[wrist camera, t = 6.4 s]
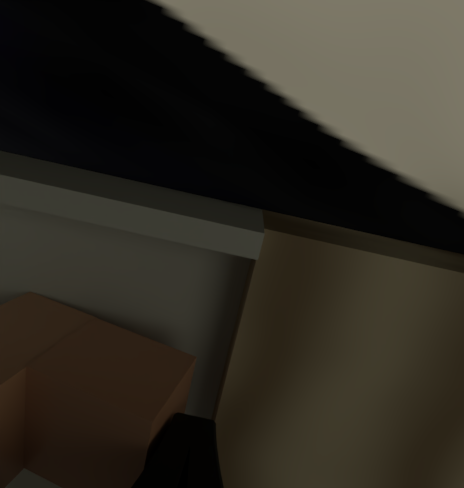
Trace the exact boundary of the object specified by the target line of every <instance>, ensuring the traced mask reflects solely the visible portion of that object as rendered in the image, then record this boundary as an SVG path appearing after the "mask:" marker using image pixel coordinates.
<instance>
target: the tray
mask: <svg viewBox="0 0 464 488" xmlns="http://www.w3.org/2000/svg"><path fill="white" fill-rule="evenodd" d="M264 235H265V231H264V222H263V213H262V209H258V208H253V207H249V206H244V205H240V204H236V203H231V202H227V201H222V200H218V199H213V198H209V197H204V196H200V195H195V194H191V193H187V192H182V191H178V190H173V189H169V188H164V187H160V186H155V185H151V184H146V183H142V182H138V181H133V180H129V179H124V178H120V177H115V176H111V175H106V174H102V173H97V172H93V171H88V170H84V169H80V168H75V167H71V166H66V165H62V164H57V163H53V162H48V161H44V160H39V159H35V158H31V157H26V156H22V155H17V154H13V153H8V152H4V151H0V305H2V304H4V303H6V302H9V301H11V300H13V299H15V298H17V297H19V296H21V295H24V294H26V293H28V292H33V293H35V294H38V295H41V296H43V297H46V298H48V299H51V300H53V301H56V302H59V303H61V304H64V305H66V306H69V307H71V308H74V309H77V310H79V311H82V312H84V313H87V314H89V315H92V316H94V317H97V318H98V319H101V320H103V321H106V322H108V323H111V324H113V325H116V326H118V327H121V328H124V329H126V330H129V331H131V332H134V333H136V334H139V335H142V336H144V337H147V338H149V339H152V340H154V341H157V342H160V343H162V344H165V345H167V346H170V347H172V348H175V349H178V350H180V351H183V352H185V353H188V354H190V355H193V356H196V357H197V358H196V363H195V368H194V372H193V377H192V381H191V386H190V390H189V395H188V400H187V404H186V409H185V413H184V414H188V415H193V416H197V417H202V418H206V419H211V417H212V413H213V409H214V405H215V401H216V397H217V393H218V389H219V385H220V381H221V377H222V373H223V369H224V365H225V361H226V357H227V353H228V349H229V345H230V341H231V337H232V333H233V329H234V325H235V321H236V317H237V313H238V309H239V305H240V301H241V297H242V293H243V289H244V285H245V281H246V277H247V273H248V269H249V265H250V261H251V259H255V260H258V258H259V254H260V250H261V246H262V242H263V239H264ZM5 488H61V487H59V486H58V485H56V484H54V483H52V482H50V481H48V480H46V479H44V478H42V477H40V476H38V475H36V474H35V473H33V472H31V471H29V470H27V469H25V468H24V469H23V470H22V471H21V472H20V473H19V474H18V475H17V476H16V477H15V478H14V479H13V480H12V481H11V482H10V483H9V484H8V485H7V486H6V487H5Z"/></svg>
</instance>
